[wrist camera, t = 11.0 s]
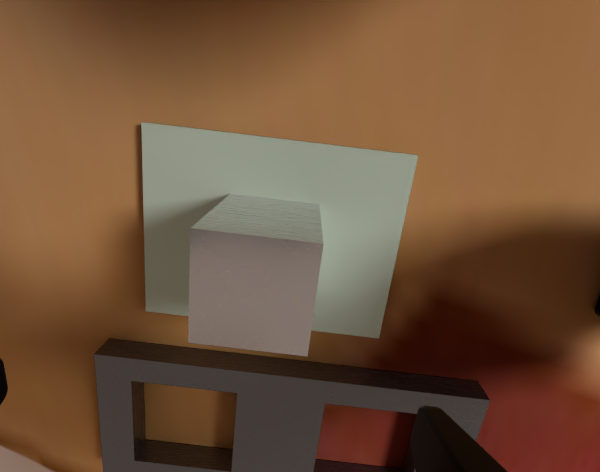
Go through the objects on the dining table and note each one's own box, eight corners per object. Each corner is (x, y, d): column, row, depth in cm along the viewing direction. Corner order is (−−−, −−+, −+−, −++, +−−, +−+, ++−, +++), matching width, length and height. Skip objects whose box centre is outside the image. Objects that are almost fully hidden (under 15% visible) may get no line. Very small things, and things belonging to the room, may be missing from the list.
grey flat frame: (477, 381, 21) (489, 400, 19) (441, 490, 23) (450, 514, 22) (109, 338, 21) (94, 354, 19) (116, 453, 23) (103, 474, 22)
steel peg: (319, 204, 17) (323, 243, 11) (308, 285, 18) (307, 356, 13) (230, 193, 17) (190, 228, 11) (226, 275, 18) (188, 342, 13)
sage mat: (414, 154, 17) (418, 155, 16) (376, 332, 20) (378, 338, 19) (147, 122, 17) (141, 122, 16) (150, 305, 20) (145, 311, 19)
